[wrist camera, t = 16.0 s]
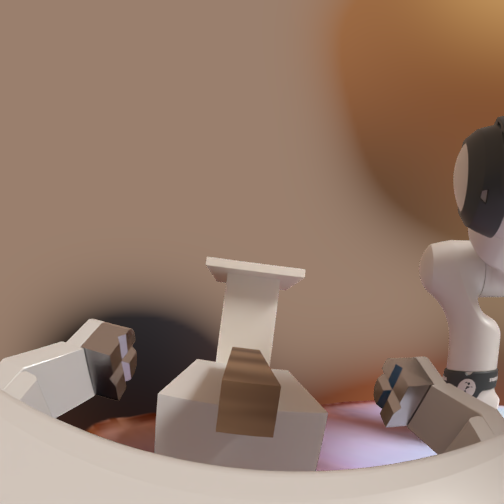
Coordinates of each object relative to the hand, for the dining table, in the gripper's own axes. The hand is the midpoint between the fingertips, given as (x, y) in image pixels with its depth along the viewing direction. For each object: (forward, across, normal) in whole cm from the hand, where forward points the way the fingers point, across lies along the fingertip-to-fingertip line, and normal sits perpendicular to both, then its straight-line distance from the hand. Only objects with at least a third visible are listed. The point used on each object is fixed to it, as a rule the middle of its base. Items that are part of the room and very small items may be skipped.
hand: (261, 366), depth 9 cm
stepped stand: (+13, 0, +30) cm, 33 cm away
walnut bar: (+10, 0, +12) cm, 16 cm away
